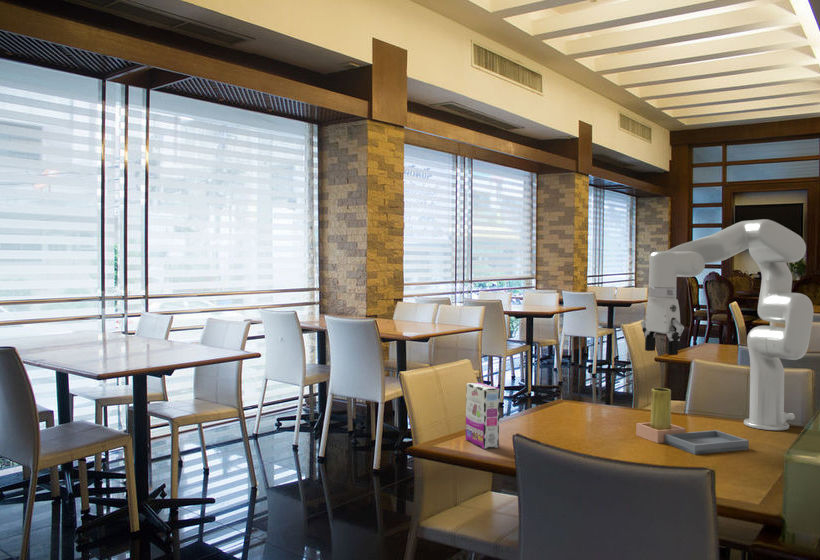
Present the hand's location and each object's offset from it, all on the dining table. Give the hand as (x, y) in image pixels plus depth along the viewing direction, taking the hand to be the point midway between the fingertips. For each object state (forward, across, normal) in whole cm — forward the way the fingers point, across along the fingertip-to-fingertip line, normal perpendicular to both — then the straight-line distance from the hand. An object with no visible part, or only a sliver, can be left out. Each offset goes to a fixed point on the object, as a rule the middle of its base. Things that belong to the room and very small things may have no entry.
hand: (661, 352), depth 193 cm
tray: (+25, -11, -7) cm, 28 cm away
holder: (+25, 0, 0) cm, 25 cm away
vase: (+25, 0, 0) cm, 25 cm away
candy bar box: (+26, +9, +52) cm, 59 cm away
